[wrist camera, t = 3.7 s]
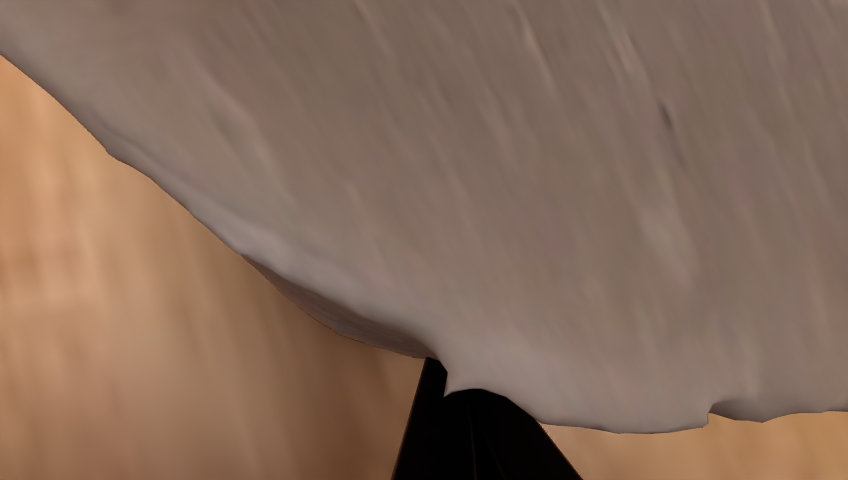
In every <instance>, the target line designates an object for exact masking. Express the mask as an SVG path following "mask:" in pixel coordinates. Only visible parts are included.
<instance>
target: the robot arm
mask: <svg viewBox="0 0 848 480" xmlns="http://www.w3.org/2000/svg"><path fill="white" fill-rule="evenodd" d="M447 375H448V372H447V370H446V369H445V367H444V366H443V365H442V363H441V362H440V361H439V360H436V359H433V358H431V357H426V359H425V362H424V366H423V369H422V373H421V376H420V380H419V383H418V387H417V390H416V394H415V397H414V400H413V404H412V407H411V411H410V414H409V418H408V421H407V425H406V428H405V432H404V435H403V439H402V442H401V446H400V449H399V453H398V456H397V460H396V463H395V466H394V470H393V473H392V477H391V480H583V479H582V478H581V477H580V475H579V474H578V473H577V471H576V470H575V469H574V468H573V466H572V465H571V464H570V462H569V461H568V460H567V459H566V457H565V456H564V455H563V453H562V452H561V451H560V450H559V448H558V447H557V446H556V445H555V443H554V442H553V441H552V439H551V438H550V437H549V436H548V434H547V433H546V432H545V430H544V429H543V428H542V427H541V425H540V424H539V423H538V422H537V420H536V419H535V418H534V417H532V416H531V415H530V414H528V413H527V412H526V411H524V410H523V409H522V408H520V407H519V406H518V405H516V404H515V403H514V402H512V401H511V400H510V399H508V398H507V397H505V396H502V395H499V394H496V393H493V392H490V391H487V390H484V389H481V388H472V389H467V390H461V391H456V392H452V393H450V394H448V395H446V396H444V393H445V387H446V381H447Z"/></svg>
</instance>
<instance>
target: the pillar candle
mask: <svg viewBox="0 0 848 480" xmlns="http://www.w3.org/2000/svg"><path fill="white" fill-rule="evenodd" d="M0 55H2V56H3V57H4V58H6V59H7V60H8V61H9V62H11V63H12V64H13V65H14V66H16V67H17V68H18V69H19V70H21V71H22V72H23V73H24V74H26V75H27V76H28V77H29V78H31V79H32V80H33V81H34V82H36V83H37V84H38V85H39V86H40V87H42V88H43V89H44V90H45V91H46V92H48V93H49V94H50V95H51V96H52V97H54V98H55V99H56V100H57V101H58V102H59V103H60V104H61V105H62V106H63V107H64V108H65V109H66V110H67V111H68V112H69V113H71V114H72V115H73V116H74V117H75V118H76V119H77V120H78V121H79V122H80V123H81V124H82V125H83V126H84V127H85V128H86V129H87V130H88V131H89V132H90V133H91V134H92V135H93V136H94V137H95V138H96V139H97V140H98V141H99V142H100V144H101V145H102V146H103V147H104V148H105V149H106V151H107V152H108V154H110V155H111V156H112V157H114V158H115V159H117V160H118V161H121V162H123V163H125V164H127V165H129V166H131V167H133V168H135V169H136V170H138V171H140V172H141V173H143V174H144V175H146V176H147V177H149V178H151V179H152V180H153V181H154V182H155V183H156V184H157V185H158V186H160V187H161V188H162V189H163V190H164V191H165V192H166V193H168V194H169V195H170V196H171V197H173V198H174V199H175V200H176V201H178V202H179V203H180V204H181V205H182V206H183V207H184V208H186V209H187V210H188V211H189V212H190V213H191V214H192V215H193V216H194V217H195V218H196V219H197V220H198V221H199V222H201V223H202V224H203V225H205V226H206V227H207V228H208V229H209V230H211V231H212V232H213V233H214V234H215V235H216V236H217V237H218V238H219V239H220V240H221V241H223V242H224V243H225V244H226V245H227V246H229V247H230V248H231V249H232V250H233V251H235V252H236V253H238V254H240V255H242V257H243V258H244V259H245V260H246V261H247V262H248V263H250V264H251V265H252V266H254V267H255V268H256V269H257V270H258V271H259V272H261V273H262V274H263V275H264V276H265V277H266V278H267V279H268V280H269V281H270V282H271V283H272V284H273V285H274V286H275V287H276V288H277V289H278V290H279V291H280V292H281V293H282V294H283V295H284V296H286V297H287V298H288V299H290V300H291V301H293V302H294V303H295V304H296V305H297V306H298V307H299V308H300V309H301V310H303V311H304V312H306V313H307V314H308V315H310V316H311V317H313V318H314V319H315V320H317V321H319V322H320V323H322V324H323V325H325V326H326V327H328V328H330V329H333V330H334V331H335V332H336V333H337V334H339V335H342V336H345V337H349V338H350V339H354V340H358V341H360V342H362V343H368V344H370V345H373V346H375V347H379V348H383V349H387V350H389V351H393V352H396V353H399V354H402V355H407V356H411V357H413V358H423V359H426V357H431V358H433V359H436V360H439V361H440V362H441V363H442V365H443V366H444V367H445V369H446V370H447V372H448V375H447V381H446V387H445V393H444V396H446V395H448V394H450V393H452V392H456V391H461V390H467V389H472V388H481V389H484V390H487V391H490V392H493V393H496V394H499V395H502V396H505V397H507V398H508V399H510V400H511V401H512V402H514V403H515V404H516V405H518V406H519V407H520V408H522V409H523V410H524V411H526V412H527V413H528V414H530V415H531V416H532V417H534V418H535V419H536V420H537V421H539V422H540V423H542V424H549V425H557V426H573V427H584V428H590V429H597V430H603V431H608V432H613V433H618V434H620V433H641V434H654V433H669V432H676V431H682V430H688V429H694V428H700V427H702V428H703V426H705V425H707V424H708V413H713V414H716V415H720V416H723V417H726V418H730V419H733V420H749V421H755V422H761V423H763V422H765V421H768V420H771V419H773V418H777V417H781V416H784V415H789V414H796V413H822V412H825V411H844V412H848V0H0Z"/></svg>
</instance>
